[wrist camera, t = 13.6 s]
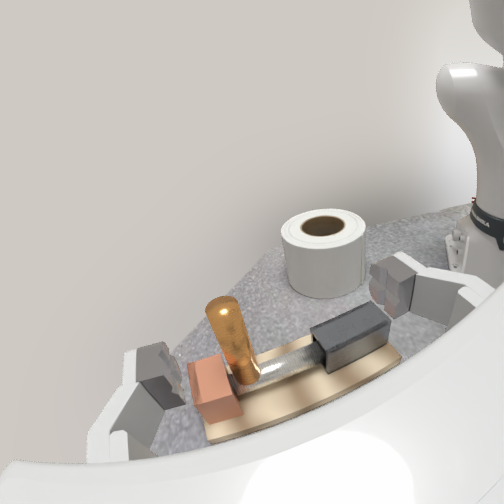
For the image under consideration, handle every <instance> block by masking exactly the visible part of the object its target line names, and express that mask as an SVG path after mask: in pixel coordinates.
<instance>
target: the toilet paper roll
mask: <svg viewBox="0 0 504 504" xmlns="http://www.w3.org/2000/svg"><path fill="white" fill-rule="evenodd" d="M281 236H282V242H283V248H284V254H285V260H286V266H287V272H288V278H289V282H290V284H291V286H292V287H293V288H294V289H295V290H296V291H297V292H299V293H300V294H303V295H305V296H308V297H312V298H318V299H331V298H337V297H341V296H344V295H346V294H348V293H350V292H352V291H354V290H355V289H356V288H357V287H359V286H360V285H362V284H363V281H364V277H365V251H366V227H365V222H364V221H363V219H362V218H361V217H359V216H358V215H356V214H354V213H352V212H349V211H345V210H340V209H318V210H312V211H308V212H304V213H301V214H299V215H296V216H294V217H293V218H291V219H289V220H288V221H287V222H286V223H285V224H284V225H283V226H282V229H281Z"/></svg>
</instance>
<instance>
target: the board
mask: <svg viewBox="0 0 504 504" xmlns="http://www.w3.org/2000/svg"><path fill="white" fill-rule="evenodd" d="M310 343H312V341H311V334H310V335H307V336H305V337H302V338H300V339H298V340H295V341H293V342H290V343H288V344H285V345H283V346H280V347H277V348H275V349H272V350H270V351H267V352H264V353H262V354H259V355H256V356H255V357H256V360H257V363H258V364H260V363H263V362H266V361H268V360H271V359H273V358H276V357H279V356H281V355H284V354H286V353H289V352H291V351H294V350H296V349H299V348H301V347H303V346H306V345H308V344H310ZM401 358H402V356H401V355H400V354H399V353H398V352H397V351H396V350H395V349H394V348H393V346H392V345H391V344H390V343H389V342H387V344H386V345H385V346H383V347H381V348H379V349H377V350H376V351H374V352H372V353H370V354H368V355H367V356H365V357H363V358H361V359H359V360H357V361H355V362H353V363H351V364H349V365H347V366H345V367H343V368H341V369H339V370H337V371H335V372H333V373H331V374H329V375H328V374H327V373H326V371H325V370H324V368H323V366H322V365H321V364H319V365H316V366H314V367H312V368H309V369H307V370H305V371H302V372H300V373H298V374H295V375H293V376H290V377H288V378H285V379H283V380H280V381H278V382H275V383H273V384H270V385H267V386H265V387H262V388H259V389H256V390H253V391H251V392H248V393H245V394H242V395H239V396H238V399H239V402H240V405H241V408H242V411H243V414H244V415H241V416H238V417H234V418H231V419H228V420H225V421H221V422H218V423H214V424H211V425H209V423H208V422H207V421H206V420H205V419H204V417H203V416H202V418H203V422H204V426H205V431H206V435H207V439H208V441H209V442H210V443H211V444H215V443H219V442H223V441H226V440H230V439H233V438H237V437H240V436H243V435H246V434H250V433H253V432H256V431H259V430H262V429H264V428H267V427H270V426H273V425H276V424H278V423H281V422H283V421H286V420H289V419H291V418H294V417H296V416H298V415H301V414H303V413H306V412H308V411H310V410H313V409H315V408H317V407H319V406H321V405H324V404H326V403H328V402H330V401H332V400H334V399H336V398H338V397H340V396H342V395H344V394H346V393H348V392H350V391H352V390H354V389H356V388H358V387H360V386H362V385H363V384H365V383H367V382H369V381H371V380H372V379H374V378H376V377H378V376H379V375H381V374H383V373H384V372H386V371H388V370H389V369H391V368H393V367H394V366H396V365H398V364H399V363H400V361H401ZM226 367H227V369H228V371H229V373H230V374H232V371H231V369H230V367H229V365H227V366H226Z"/></svg>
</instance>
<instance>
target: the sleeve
mask: <svg viewBox="0 0 504 504" xmlns="http://www.w3.org/2000/svg"><path fill="white" fill-rule="evenodd" d="M390 325H391V320H390V319H389V318H388V317H387V316H386V315H385V314H384V313H383V312H382V311H381V310H380V309H379V308H378V307H377V306H376V305H375V304H374V303H373V302H372V301H369V302H367V303H365V304H362V305H360V306H358V307H356V308H354V309H352V310H350V311H348V312H346V313H343V314H341V315H339V316H337V317H335V318H332V319H330V320H328V321H326V322H323V323H321V324H319V325H316V326H314V327H312V328H310V331H311V341H312V343H313V342H315V341H318V342H319V344H320V345H321V347H322V348H323V350H324V351H325V352H326V361H325V362H323V363H321V365H322V366H323V368H324V370H325V371H326V373H327V374H328V375H329V374H331V373H333V372H335V371H337V370H339V369H341V368H343V367H345V366H347V365H349V364H351V363H353V362H355V361H357V360H359V359H361V358H363V357H365V356H367V355H368V354H370V353H372V352H374V351H376V350H377V349H379V348H381V347H383V346H385V345H386V344H387V342H388V336H389V331H390Z"/></svg>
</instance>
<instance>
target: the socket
mask: <svg viewBox="0 0 504 504" xmlns="http://www.w3.org/2000/svg"><path fill="white" fill-rule="evenodd" d="M187 368H188V374H189V380H190V386H191V391H192V397H193V402H194V406H195V407H196V409H197V410H198V411H199V412H200V414H201V415H202V416H203V417H204V419H205V420H206V421H207V422H208V423H209V425H211V424H214V423H218V422H221V421H225V420H228V419H231V418H234V417H238V416H241V415H244V414H243V411H242V408H241V405H240V402H239V399H238V396H235V394H234V392H233V391H232V388H231V385H230V382H229V379H228V375H229V374H230V373H229V371H228V369H227V367H226V365H225V363H224V361H223V359H222V356H221V354H217V355H214V356H211V357H208V358H205V359H201V360H198V361H195V362H192V363H188V364H187Z"/></svg>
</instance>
